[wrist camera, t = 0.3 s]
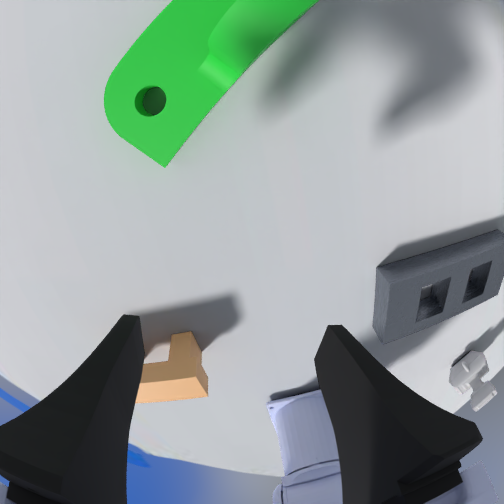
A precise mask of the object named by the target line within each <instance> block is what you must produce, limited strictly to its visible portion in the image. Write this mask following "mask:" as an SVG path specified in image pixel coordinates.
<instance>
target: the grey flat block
mask: <svg viewBox="0 0 504 504" xmlns="http://www.w3.org/2000/svg"><path fill="white" fill-rule="evenodd" d="M472 268H473V271H472V275H471V279H470V281H468V279H469V275H470V270H471V269H472ZM503 276H504V233H502V232H501V231H499V230H495V231H492V232H489V233H486V234H483V235H480V236H477V237H474V238H471V239H468V240H465V241H462V242H459V243H456V244H453V245H450V246H447V247H443V248H440V249H437V250H434V251H431V252H427V253H424V254H421V255H417V256H414V257H411V258H407V259H404V260H400V261H397V262H394V263H390V264H387V265H383V266H380V267H377V268H376V289H375V304H374V316H373V328H374V330H375V332H376V334H377V335H378V337H379V339H380V341H381V342H382V344H385V343H388V342H391V341H394V340H397V339H399V338H402V337H405V336H407V335H410V334H413V333H415V332H418V331H420V330H423V329H425V328H428V327H430V326H432V325H435V324H437V323H439V322H442V321H444V320H446V319H449V318H451V317H453V316H455V315H458V314H460V313H462V312H464V311H466V310H468V309H470V308H472V307H474V306H476V305H479V304H481V303H483V302H484V301H486V300H488V299H490V298H492V297H494V296H496V295H498V292H499V289H500V286H501V283H502V280H503ZM430 284H433V285H432V290H431V295H430V297H428V298H425V299H423V300H420V296H421V291H422V287H425V286H428V285H430Z"/></svg>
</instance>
